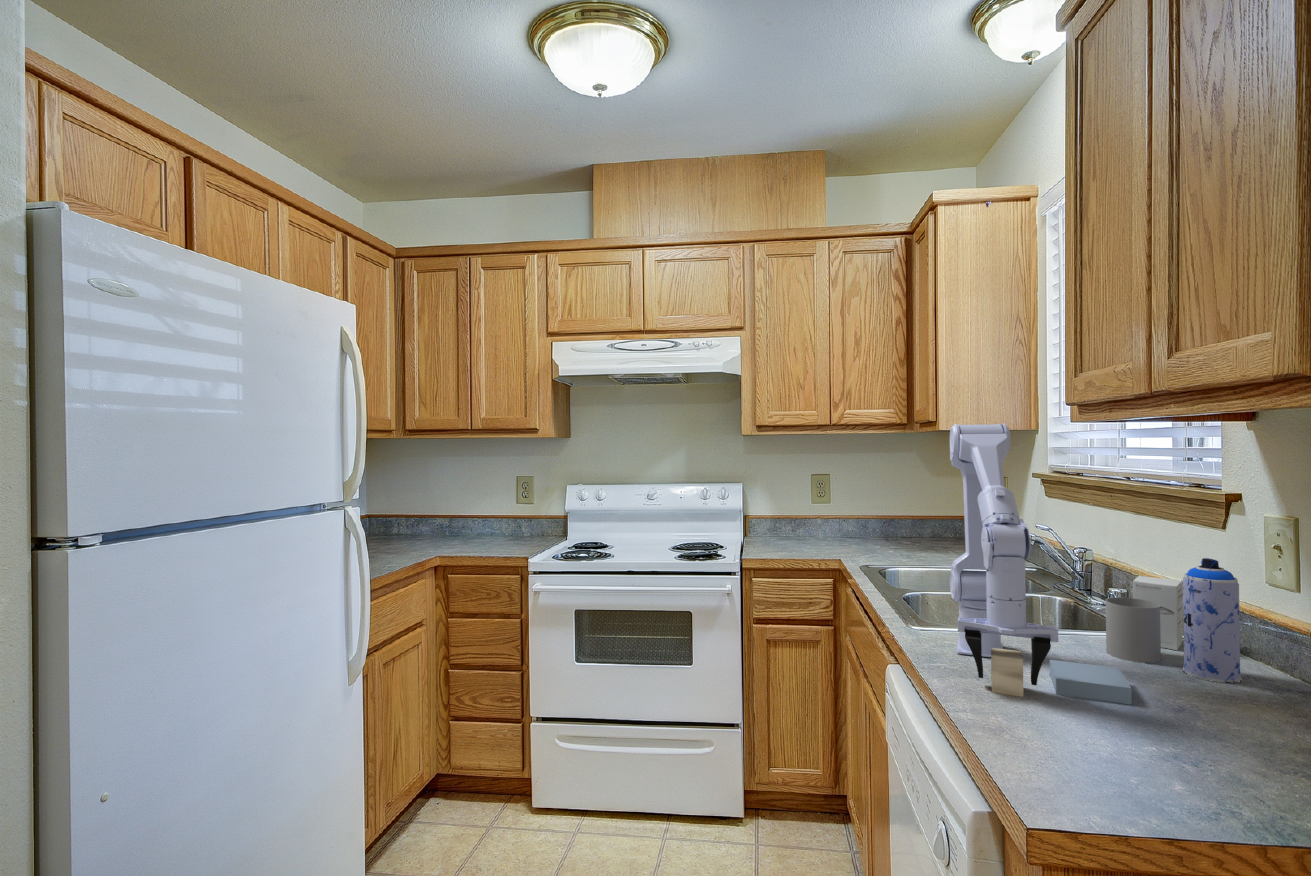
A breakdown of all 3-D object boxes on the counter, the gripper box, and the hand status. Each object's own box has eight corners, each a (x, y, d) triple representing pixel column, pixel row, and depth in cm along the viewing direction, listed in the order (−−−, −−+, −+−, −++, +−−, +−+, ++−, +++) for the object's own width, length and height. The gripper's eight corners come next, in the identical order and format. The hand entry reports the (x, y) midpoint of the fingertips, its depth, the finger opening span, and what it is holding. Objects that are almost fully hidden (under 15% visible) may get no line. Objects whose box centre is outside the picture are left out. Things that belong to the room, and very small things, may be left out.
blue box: (1049, 676, 116) (1049, 659, 116) (1118, 685, 112) (1118, 667, 112) (1056, 697, 107) (1056, 678, 107) (1131, 707, 102) (1131, 688, 102)
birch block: (991, 683, 112) (991, 647, 112) (1021, 687, 110) (1021, 651, 110) (991, 692, 108) (991, 655, 108) (1023, 696, 106) (1023, 659, 106)
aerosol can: (1178, 664, 120) (1176, 554, 120) (1234, 671, 116) (1232, 557, 116) (1188, 678, 113) (1186, 561, 113) (1248, 686, 109) (1246, 564, 109)
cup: (1163, 665, 120) (1162, 610, 120) (1107, 658, 124) (1107, 604, 124) (1157, 652, 127) (1156, 600, 127) (1105, 646, 131) (1104, 595, 131)
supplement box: (1131, 643, 133) (1130, 580, 133) (1139, 635, 138) (1138, 574, 138) (1178, 651, 127) (1177, 585, 127) (1184, 642, 133) (1183, 579, 133)
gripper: (956, 597, 109) (957, 680, 109) (1059, 606, 102) (1061, 695, 102) (958, 589, 115) (958, 667, 115) (1055, 597, 109) (1056, 680, 109)
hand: (1006, 679), depth 109 cm, fingers open, 7 cm apart
